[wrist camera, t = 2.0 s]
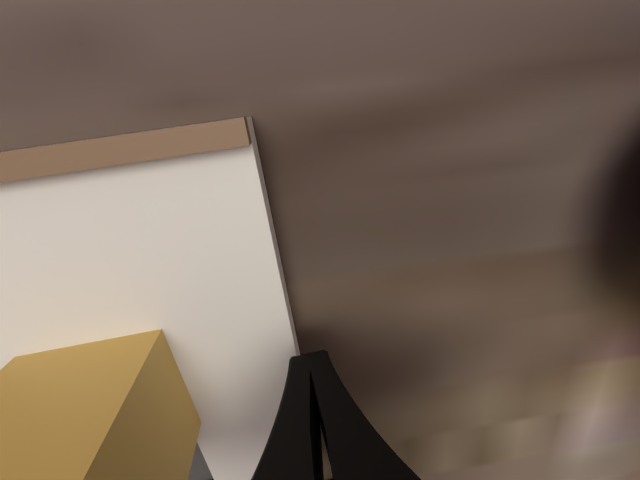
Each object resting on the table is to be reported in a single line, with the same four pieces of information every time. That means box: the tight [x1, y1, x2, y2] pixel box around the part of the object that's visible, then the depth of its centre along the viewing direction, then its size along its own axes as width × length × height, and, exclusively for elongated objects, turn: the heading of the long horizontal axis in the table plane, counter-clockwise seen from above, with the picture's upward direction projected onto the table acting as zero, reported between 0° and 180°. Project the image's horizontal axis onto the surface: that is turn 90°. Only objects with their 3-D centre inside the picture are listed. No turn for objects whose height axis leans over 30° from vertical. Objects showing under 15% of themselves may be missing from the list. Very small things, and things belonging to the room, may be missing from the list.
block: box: [0, 329, 201, 480], centre depth 9 cm, size 5×5×5 cm
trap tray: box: [0, 116, 300, 480], centre depth 12 cm, size 18×22×4 cm
